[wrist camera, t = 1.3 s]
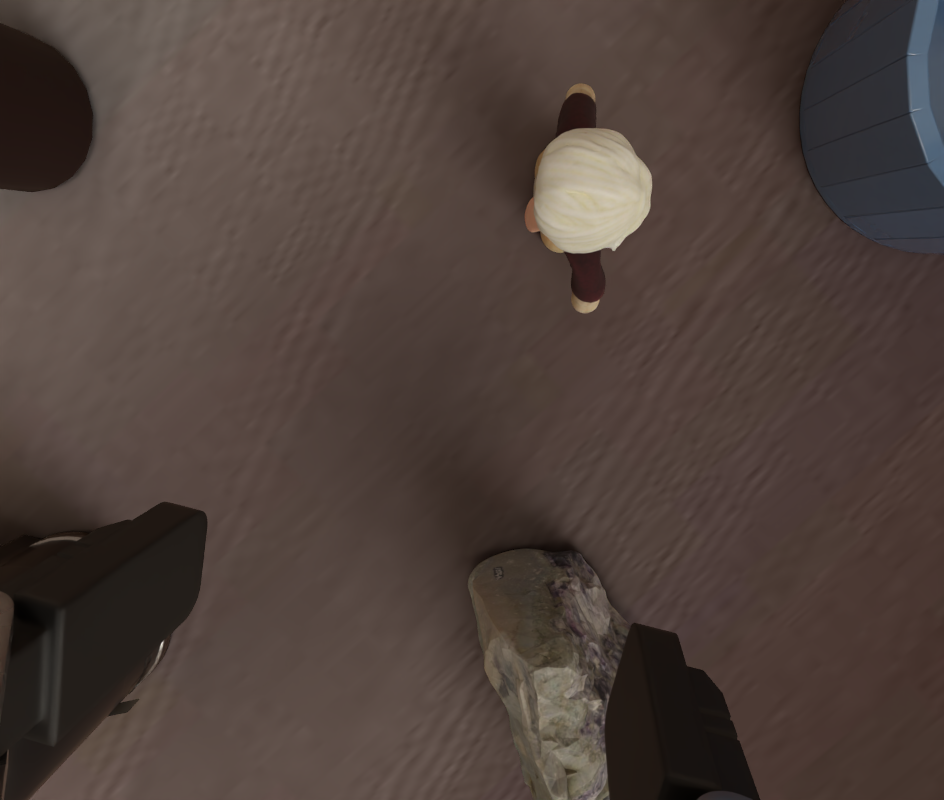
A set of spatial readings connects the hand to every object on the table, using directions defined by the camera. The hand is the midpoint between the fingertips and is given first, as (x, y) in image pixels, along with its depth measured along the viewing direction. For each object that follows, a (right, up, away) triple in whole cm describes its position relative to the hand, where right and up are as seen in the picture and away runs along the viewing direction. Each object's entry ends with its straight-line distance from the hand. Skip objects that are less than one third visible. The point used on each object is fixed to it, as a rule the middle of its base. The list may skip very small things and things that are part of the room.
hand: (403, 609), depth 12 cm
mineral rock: (+5, -10, +22) cm, 25 cm away
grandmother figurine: (+6, +12, +17) cm, 22 cm away
